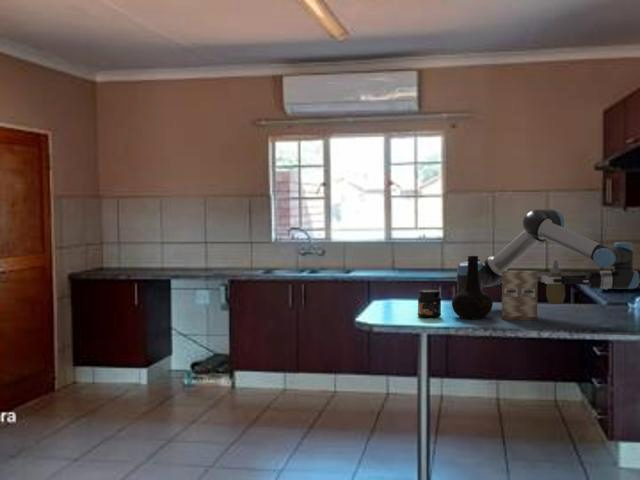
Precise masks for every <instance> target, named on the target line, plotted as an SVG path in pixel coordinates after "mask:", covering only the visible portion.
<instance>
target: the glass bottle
mask: <svg viewBox="0 0 640 480" xmlns="http://www.w3.org/2000/svg"><path fill="white" fill-rule="evenodd" d="M467 261H468V270H467V278H466V283H465V287H464V289H463V290H462V291H461V292H459V293H457V292H456V294H455V295H454V296H453V297H452V300H451V306H452V310H453V312H454V313H455V315H457V316H458V317H459V318H461V319H464V320H465V319H467V320H481V319H484V318H486V317H487V316H488V315H489V314H490V312H491V311H492V308H493V302H494V301H493V298H492V297H491V296H490V295H489V293H487V292H484V291H483V289H482V290H481V289H480V286H479V277H478V261H480V259H479V256H478V255H468V256H467V260H466V262H467ZM480 262H481V261H480Z"/></svg>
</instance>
